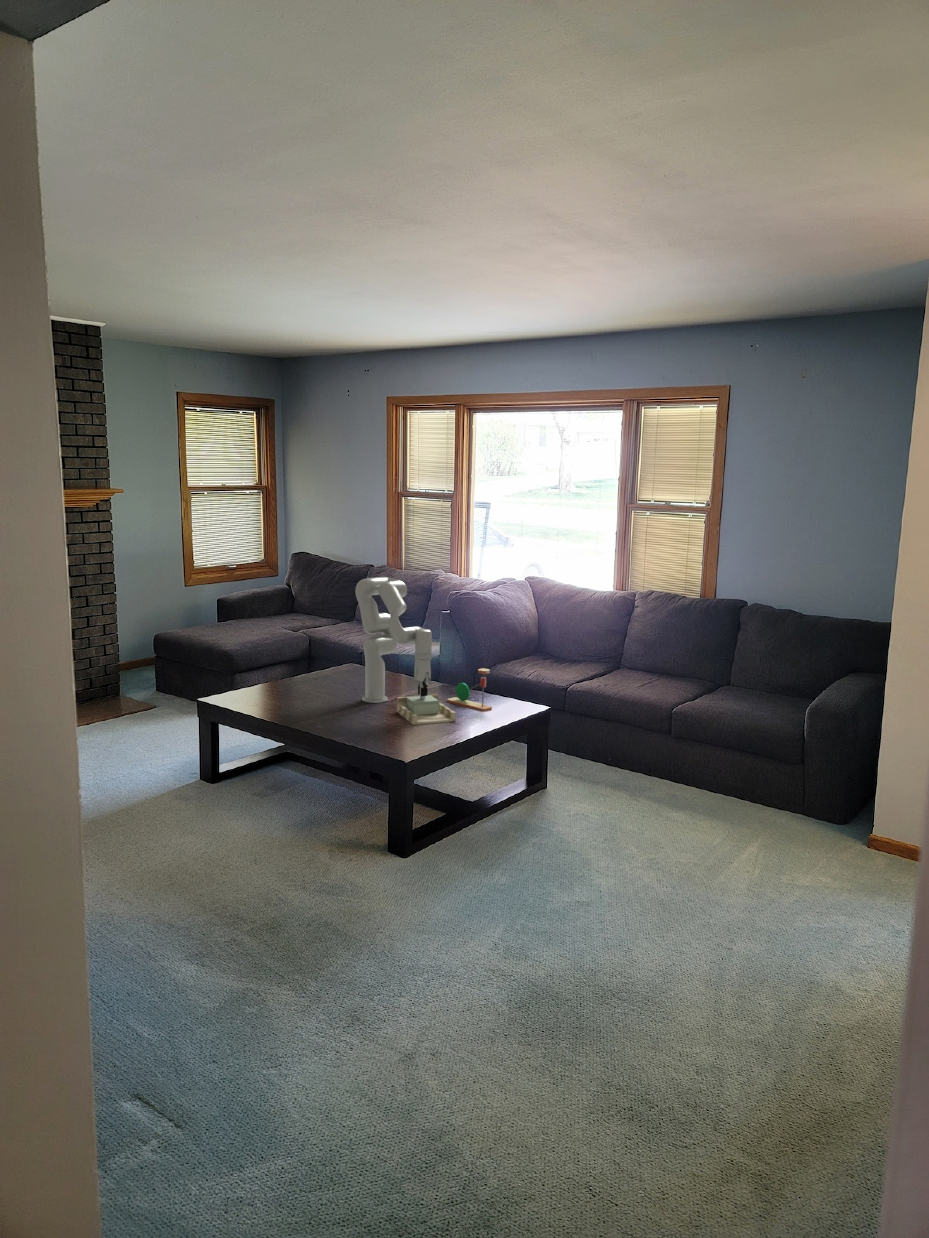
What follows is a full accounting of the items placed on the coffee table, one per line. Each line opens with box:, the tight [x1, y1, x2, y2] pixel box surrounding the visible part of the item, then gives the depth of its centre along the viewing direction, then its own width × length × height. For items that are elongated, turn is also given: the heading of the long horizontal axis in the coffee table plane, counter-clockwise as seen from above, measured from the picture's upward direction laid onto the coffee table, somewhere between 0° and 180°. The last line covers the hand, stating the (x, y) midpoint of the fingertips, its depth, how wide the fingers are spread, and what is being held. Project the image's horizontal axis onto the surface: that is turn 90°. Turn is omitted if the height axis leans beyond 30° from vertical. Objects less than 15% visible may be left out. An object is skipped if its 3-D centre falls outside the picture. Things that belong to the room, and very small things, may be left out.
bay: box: [396, 693, 457, 726], centre depth 403 cm, size 23×20×7 cm
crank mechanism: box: [446, 667, 493, 712], centre depth 423 cm, size 25×7×19 cm, turn 47°
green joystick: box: [406, 680, 440, 715], centre depth 406 cm, size 10×12×17 cm
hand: (422, 694), depth 406 cm, fingers closed on green joystick, 2 cm apart
